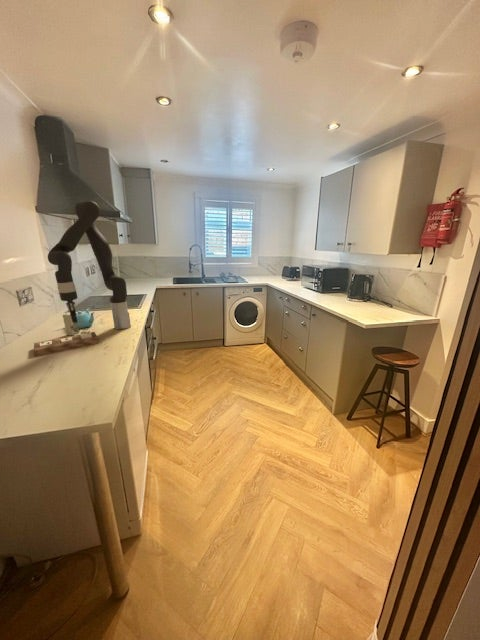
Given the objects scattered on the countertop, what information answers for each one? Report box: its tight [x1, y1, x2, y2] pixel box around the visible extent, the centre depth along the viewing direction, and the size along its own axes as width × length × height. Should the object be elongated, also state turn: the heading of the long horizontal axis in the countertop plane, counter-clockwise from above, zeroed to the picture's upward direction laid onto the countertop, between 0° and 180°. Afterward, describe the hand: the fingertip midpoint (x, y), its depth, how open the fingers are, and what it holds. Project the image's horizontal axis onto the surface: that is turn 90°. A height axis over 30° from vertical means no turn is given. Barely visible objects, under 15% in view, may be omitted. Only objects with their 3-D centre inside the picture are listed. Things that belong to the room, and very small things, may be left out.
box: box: [62, 312, 80, 336], centre depth 151 cm, size 5×4×13 cm
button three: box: [79, 330, 92, 339], centre depth 141 cm, size 5×5×4 cm
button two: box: [40, 340, 53, 347], centre depth 131 cm, size 5×5×4 cm
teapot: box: [63, 307, 95, 330], centre depth 166 cm, size 15×15×10 cm
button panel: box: [33, 331, 100, 357], centre depth 136 cm, size 28×12×3 cm, turn 127°
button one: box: [61, 336, 73, 343], centre depth 136 cm, size 5×5×4 cm
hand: (75, 322), depth 136 cm, fingers closed
